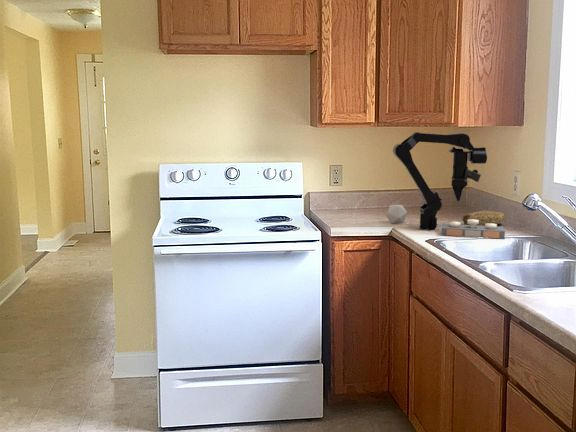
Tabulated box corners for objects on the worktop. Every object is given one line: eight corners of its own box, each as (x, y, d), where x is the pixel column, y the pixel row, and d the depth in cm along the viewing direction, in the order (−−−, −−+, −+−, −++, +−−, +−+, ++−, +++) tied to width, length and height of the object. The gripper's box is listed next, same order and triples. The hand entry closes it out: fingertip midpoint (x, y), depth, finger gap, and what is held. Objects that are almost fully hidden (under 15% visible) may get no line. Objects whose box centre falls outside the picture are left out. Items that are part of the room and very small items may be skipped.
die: (404, 222, 297) (392, 204, 298) (414, 215, 289) (401, 196, 290) (391, 231, 293) (378, 212, 294) (401, 224, 285) (388, 205, 286)
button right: (485, 234, 262) (485, 224, 261) (484, 232, 266) (485, 222, 266) (496, 235, 261) (497, 225, 260) (495, 233, 265) (496, 223, 265)
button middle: (466, 230, 263) (467, 220, 263) (466, 228, 268) (467, 218, 267) (478, 231, 262) (478, 221, 262) (478, 229, 267) (478, 219, 266)
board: (441, 235, 263) (441, 228, 262) (441, 230, 274) (442, 223, 273) (504, 239, 257) (505, 231, 257) (502, 234, 268) (503, 226, 267)
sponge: (473, 231, 280) (515, 221, 283) (469, 213, 280) (511, 203, 283) (460, 232, 293) (500, 221, 296) (456, 214, 293) (496, 204, 296)
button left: (448, 232, 265) (449, 222, 265) (448, 230, 270) (449, 221, 269) (460, 233, 264) (460, 223, 264) (459, 231, 269) (460, 221, 268)
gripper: (481, 165, 263) (479, 204, 266) (479, 162, 281) (477, 198, 283) (452, 164, 266) (450, 203, 268) (452, 161, 284) (450, 197, 286)
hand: (458, 200), depth 276 cm, fingers closed
